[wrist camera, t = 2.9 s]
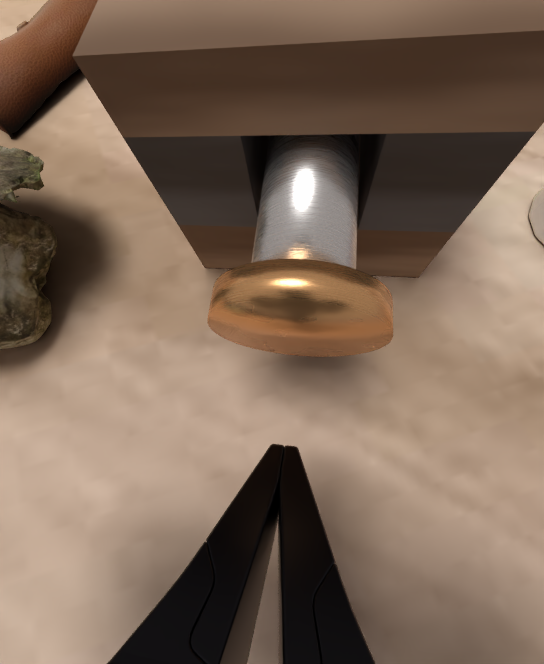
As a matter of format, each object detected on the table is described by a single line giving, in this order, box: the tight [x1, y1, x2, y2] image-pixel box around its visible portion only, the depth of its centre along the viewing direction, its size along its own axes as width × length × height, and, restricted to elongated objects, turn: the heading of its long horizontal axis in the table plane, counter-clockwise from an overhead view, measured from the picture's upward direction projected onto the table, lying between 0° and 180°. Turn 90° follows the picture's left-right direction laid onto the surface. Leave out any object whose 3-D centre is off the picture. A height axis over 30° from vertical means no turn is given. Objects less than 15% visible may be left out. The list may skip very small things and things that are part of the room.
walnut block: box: [72, 0, 544, 277], centre depth 15 cm, size 12×14×12 cm
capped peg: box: [208, 134, 393, 357], centre depth 12 cm, size 12×6×6 cm, turn 174°
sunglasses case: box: [0, 0, 98, 139], centre depth 27 cm, size 18×7×7 cm
